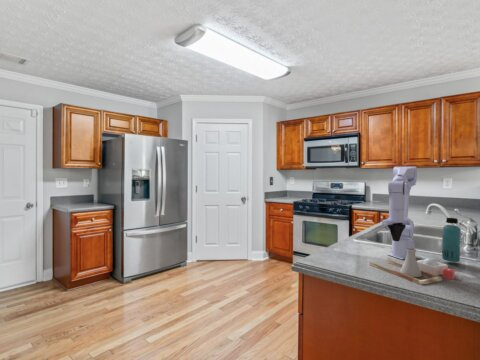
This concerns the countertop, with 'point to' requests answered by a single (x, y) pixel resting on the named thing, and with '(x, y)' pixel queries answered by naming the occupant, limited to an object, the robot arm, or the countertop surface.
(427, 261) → the dome
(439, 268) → the dome housing
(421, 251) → the countertop surface
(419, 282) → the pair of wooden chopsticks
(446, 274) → the red die
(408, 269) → the flask
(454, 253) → the beverage bottle
